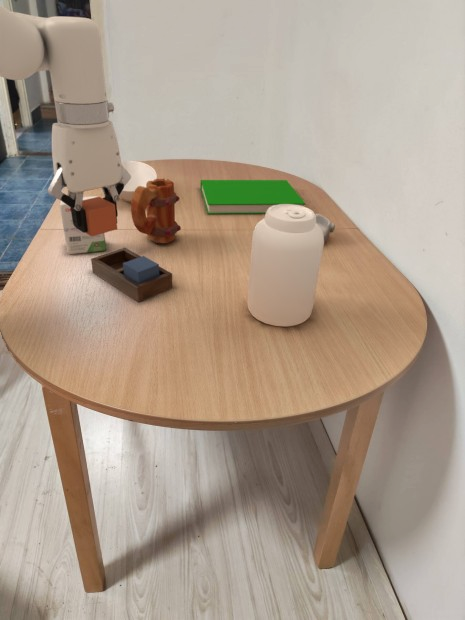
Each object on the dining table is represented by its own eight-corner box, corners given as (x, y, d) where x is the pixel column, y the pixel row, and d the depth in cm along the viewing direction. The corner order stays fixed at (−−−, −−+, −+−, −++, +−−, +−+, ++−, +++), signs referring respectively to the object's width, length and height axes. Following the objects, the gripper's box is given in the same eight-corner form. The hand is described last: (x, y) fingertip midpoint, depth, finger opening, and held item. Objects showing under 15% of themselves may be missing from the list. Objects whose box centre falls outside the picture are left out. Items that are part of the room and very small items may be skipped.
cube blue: (139, 292, 89) (138, 272, 86) (124, 283, 91) (122, 263, 89) (159, 284, 92) (158, 264, 89) (144, 275, 95) (143, 255, 92)
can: (324, 312, 87) (343, 213, 76) (281, 336, 80) (296, 231, 69) (276, 286, 95) (287, 193, 84) (233, 307, 87) (239, 207, 76)
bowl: (160, 212, 127) (159, 190, 124) (105, 213, 124) (102, 191, 121) (155, 179, 151) (154, 160, 148) (108, 179, 149) (106, 161, 145)
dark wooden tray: (138, 302, 87) (137, 287, 85) (92, 272, 96) (90, 258, 94) (172, 287, 92) (172, 273, 91) (126, 260, 101) (124, 247, 99)
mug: (159, 229, 117) (157, 171, 109) (186, 236, 114) (185, 177, 106) (122, 250, 106) (117, 186, 97) (151, 258, 103) (148, 194, 94)
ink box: (104, 242, 109) (98, 194, 102) (106, 251, 105) (101, 202, 98) (66, 246, 106) (58, 197, 100) (67, 255, 102) (59, 204, 96)
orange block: (91, 236, 76) (88, 211, 73) (76, 227, 79) (72, 202, 76) (117, 229, 79) (115, 204, 76) (101, 220, 82) (99, 196, 79)
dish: (337, 238, 118) (340, 220, 115) (309, 254, 108) (312, 235, 106) (290, 222, 125) (292, 205, 122) (260, 237, 116) (262, 218, 113)
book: (304, 213, 132) (305, 203, 130) (208, 214, 127) (208, 204, 126) (285, 188, 150) (286, 179, 149) (200, 188, 146) (200, 179, 144)
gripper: (116, 105, 76) (125, 208, 86) (15, 114, 66) (39, 231, 76) (143, 112, 72) (149, 220, 82) (39, 123, 61) (61, 246, 71)
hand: (96, 224), depth 78 cm, fingers closed on orange block, 5 cm apart
